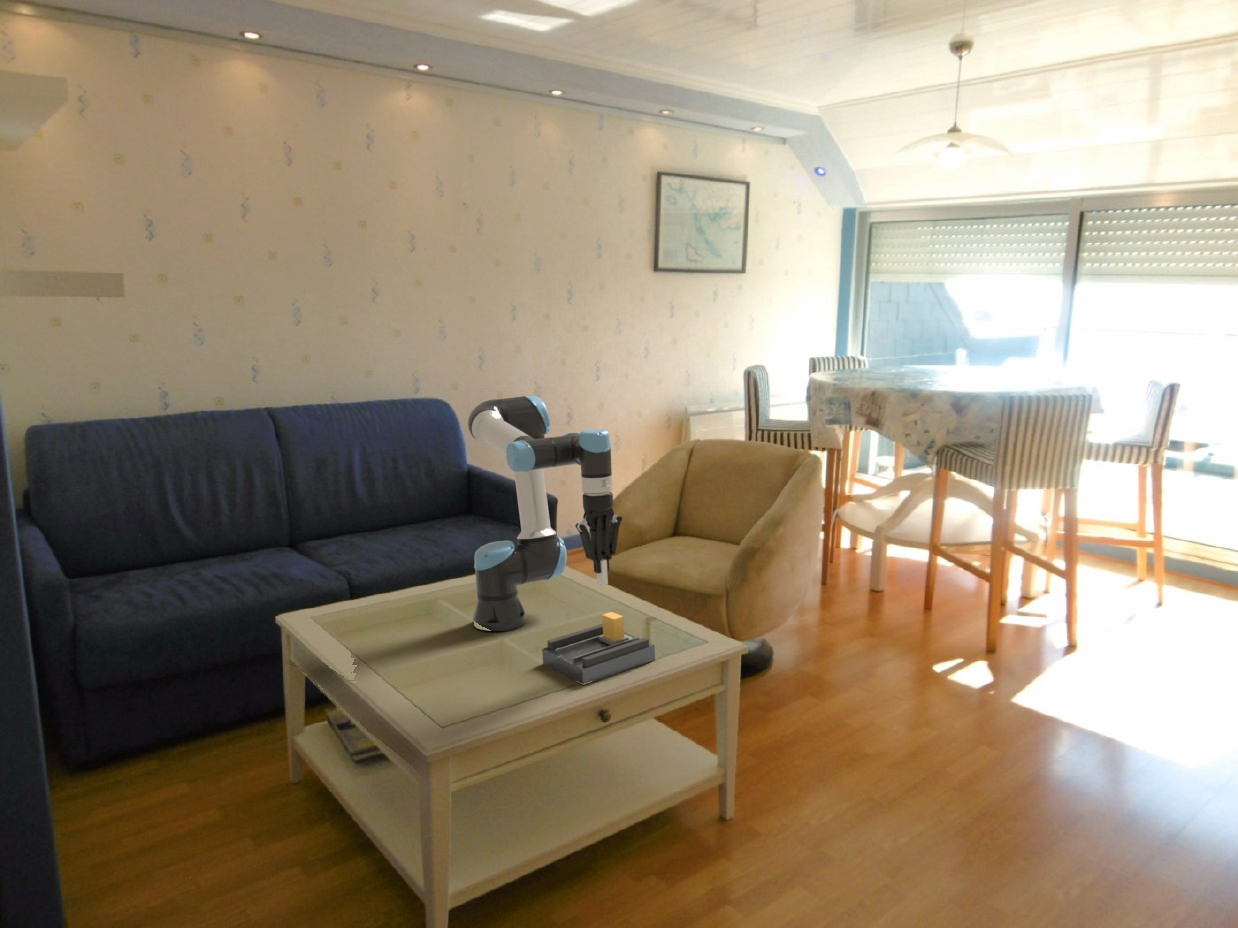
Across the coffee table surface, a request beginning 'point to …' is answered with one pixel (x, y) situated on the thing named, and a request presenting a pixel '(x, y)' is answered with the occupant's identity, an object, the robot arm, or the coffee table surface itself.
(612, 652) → the pair of guide rails
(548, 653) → the grey rail base
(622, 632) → the handle
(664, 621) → the coffee table surface
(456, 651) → the coffee table surface
